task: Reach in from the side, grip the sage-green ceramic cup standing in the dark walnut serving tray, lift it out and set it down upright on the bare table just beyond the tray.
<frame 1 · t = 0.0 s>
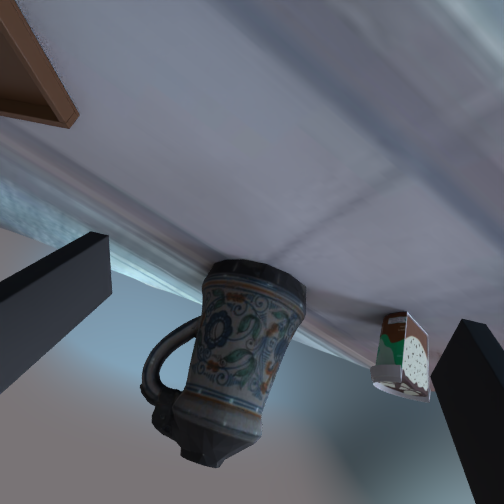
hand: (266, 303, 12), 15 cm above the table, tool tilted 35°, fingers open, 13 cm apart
beer stein: (250, 282, 53), on the table
food container: (397, 322, 51), on the table
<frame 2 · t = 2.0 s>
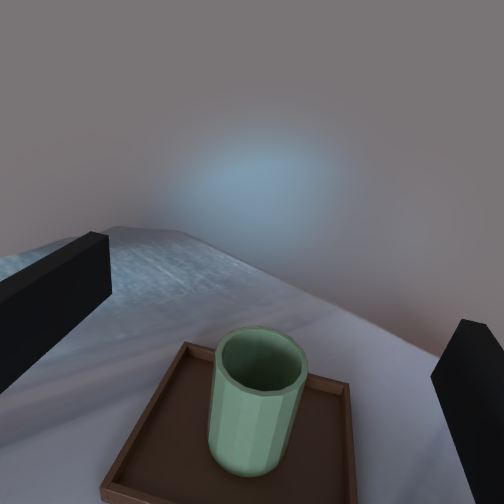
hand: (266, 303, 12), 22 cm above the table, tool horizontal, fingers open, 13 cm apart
tray: (246, 437, 31), on the table
cup: (246, 435, 31), resting on tray
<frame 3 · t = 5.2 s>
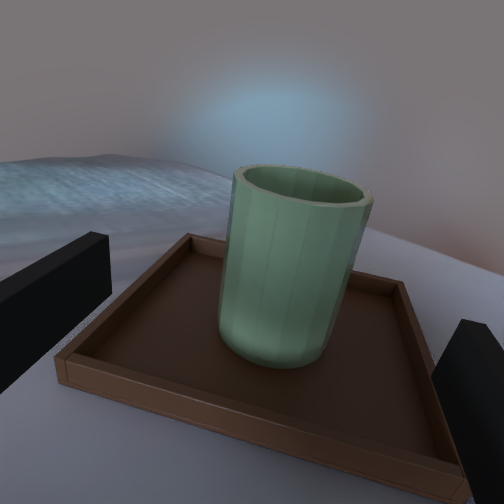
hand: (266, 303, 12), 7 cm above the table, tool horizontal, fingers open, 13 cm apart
tray: (271, 330, 22), on the table
cup: (272, 326, 22), resting on tray
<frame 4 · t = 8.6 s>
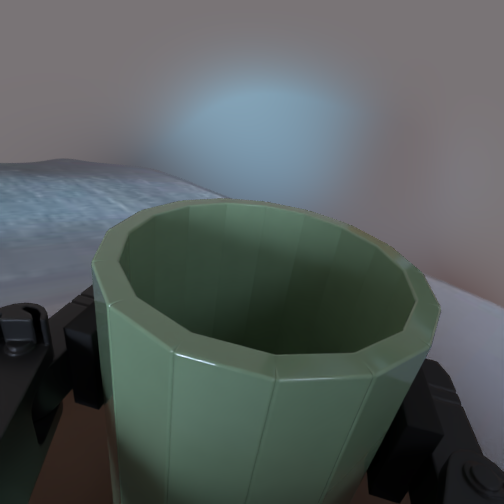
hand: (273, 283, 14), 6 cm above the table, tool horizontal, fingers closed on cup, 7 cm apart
tray: (224, 492, 12), on the table
cup: (224, 487, 12), resting on tray, touching gripper
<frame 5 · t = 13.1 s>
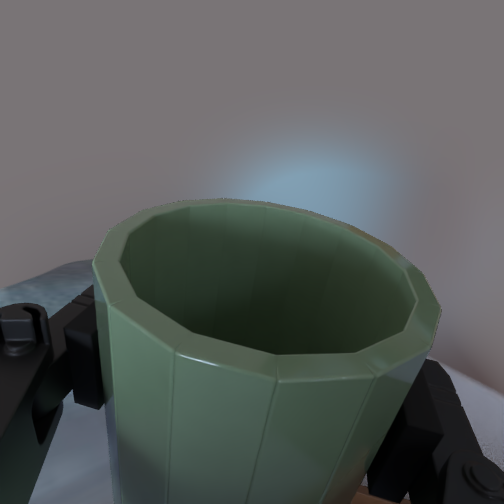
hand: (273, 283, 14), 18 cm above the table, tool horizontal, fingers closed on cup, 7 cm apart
cup: (225, 488, 12), point 12 cm above the table, touching gripper
when the fingers open (6 cm above the table, at t = 17.9 s): cup stays where it is, on the table.
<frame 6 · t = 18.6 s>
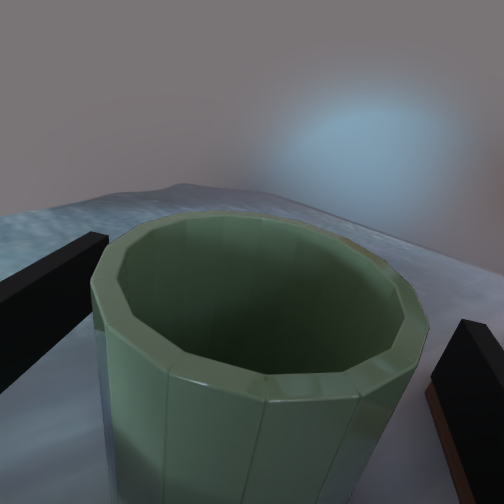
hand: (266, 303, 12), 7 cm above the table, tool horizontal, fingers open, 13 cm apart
cup: (221, 493, 12), on the table
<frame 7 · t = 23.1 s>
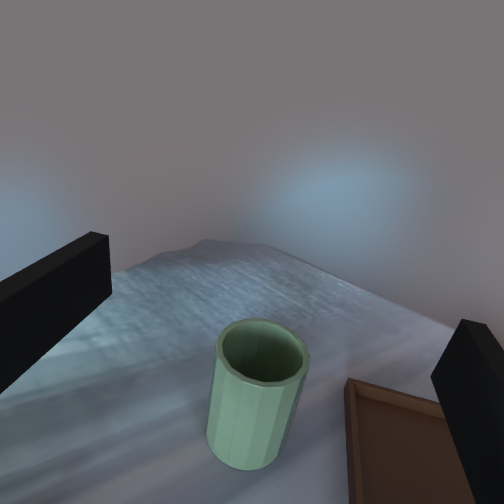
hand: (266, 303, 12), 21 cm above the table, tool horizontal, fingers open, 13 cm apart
tray: (459, 494, 28), on the table
cup: (245, 428, 30), on the table
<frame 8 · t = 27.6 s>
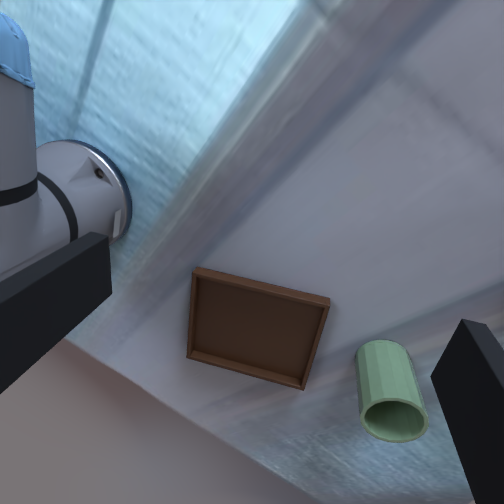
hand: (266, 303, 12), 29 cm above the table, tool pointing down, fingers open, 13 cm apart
tray: (253, 327, 49), on the table
cup: (381, 360, 47), on the table
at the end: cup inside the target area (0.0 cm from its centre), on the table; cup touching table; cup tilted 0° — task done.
